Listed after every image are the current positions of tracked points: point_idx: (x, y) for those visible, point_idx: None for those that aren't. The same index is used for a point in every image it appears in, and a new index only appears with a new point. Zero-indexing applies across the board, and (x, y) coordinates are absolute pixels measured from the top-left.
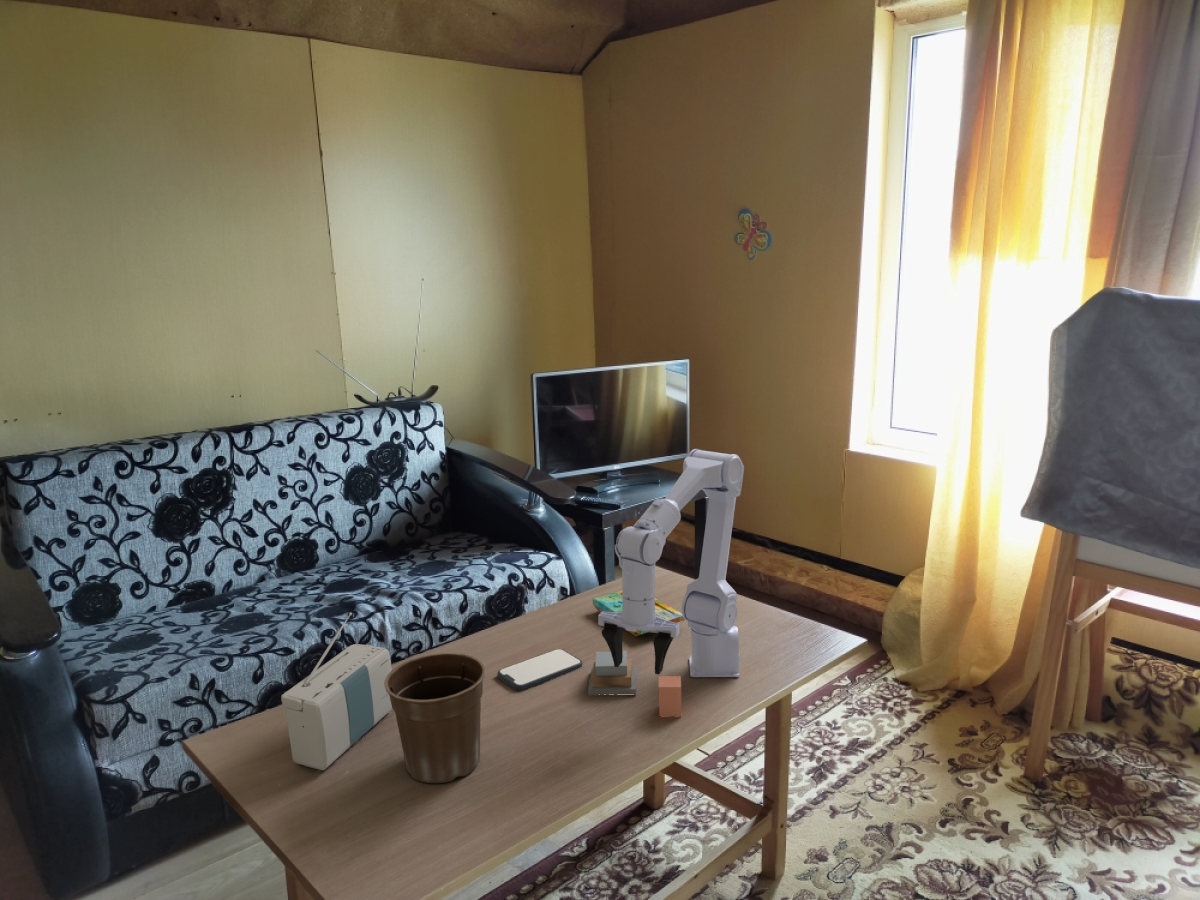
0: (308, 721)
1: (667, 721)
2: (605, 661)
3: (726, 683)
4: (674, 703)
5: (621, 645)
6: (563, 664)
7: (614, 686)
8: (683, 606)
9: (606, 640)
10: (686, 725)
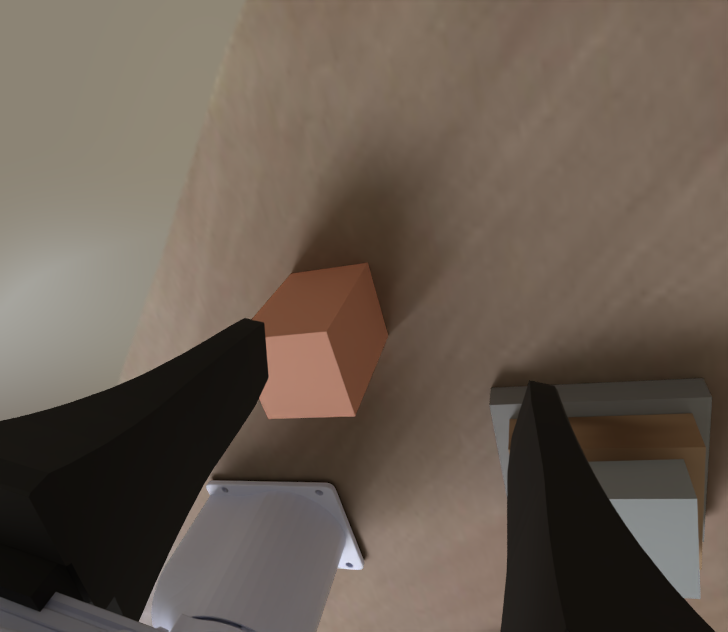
0: None
1: (330, 239)
2: (643, 531)
3: (230, 455)
4: (292, 297)
5: (511, 550)
6: None
7: (583, 418)
8: None
9: (658, 582)
10: (258, 224)
